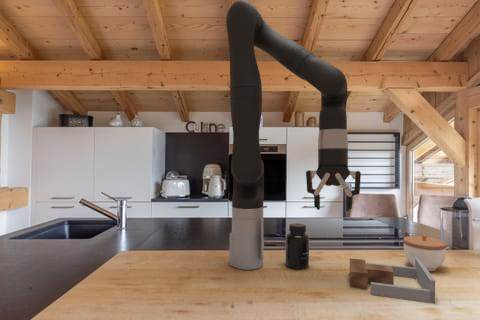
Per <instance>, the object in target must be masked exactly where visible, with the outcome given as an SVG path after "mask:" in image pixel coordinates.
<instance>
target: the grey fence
mask: <svg viewBox="0 0 480 320" xmlns="http://www.w3.org/2000/svg"><path fill="white" fill-rule="evenodd" d="M366 264H375V265H384V266H391V267H392V269H393V272H394V277H399V278H401V277H402V278H410V279H415V280H416V281H417V283H418V284H419V286H420V288H419V287H413V286H412V287H411V286H405V285H397V284H396V285H395V284H393V285H390V284H382V283H374V282H371V285H370V295H373V296H382V297H387V298H395V299H401V300H402V299H403V300H410V301H414V302H415V301H416V302H424V303H431V304H436V280H435V278H434V277H433V275H432V274H431V272H430V271H428V270H427V268H426V267H425V266H424V264H423V263H422V261H421V260H420V259H417V258H415V268H414V267H413V266H402V265H395V264H394V265H393V264H385V263H376V262H366Z"/></svg>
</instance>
